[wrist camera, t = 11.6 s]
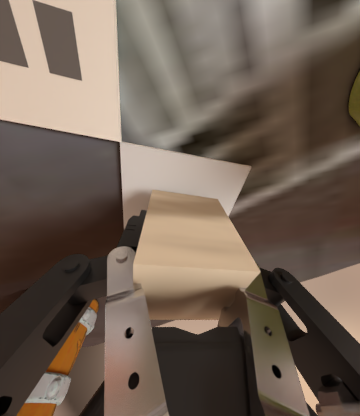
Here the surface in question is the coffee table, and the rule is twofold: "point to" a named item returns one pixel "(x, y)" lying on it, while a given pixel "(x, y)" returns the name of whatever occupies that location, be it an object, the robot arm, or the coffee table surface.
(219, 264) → the beech block
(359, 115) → the plant pot
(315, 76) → the coffee table surface
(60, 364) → the mug
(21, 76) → the code tile
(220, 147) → the coffee table surface
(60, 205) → the coffee table surface
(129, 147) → the felt pad
